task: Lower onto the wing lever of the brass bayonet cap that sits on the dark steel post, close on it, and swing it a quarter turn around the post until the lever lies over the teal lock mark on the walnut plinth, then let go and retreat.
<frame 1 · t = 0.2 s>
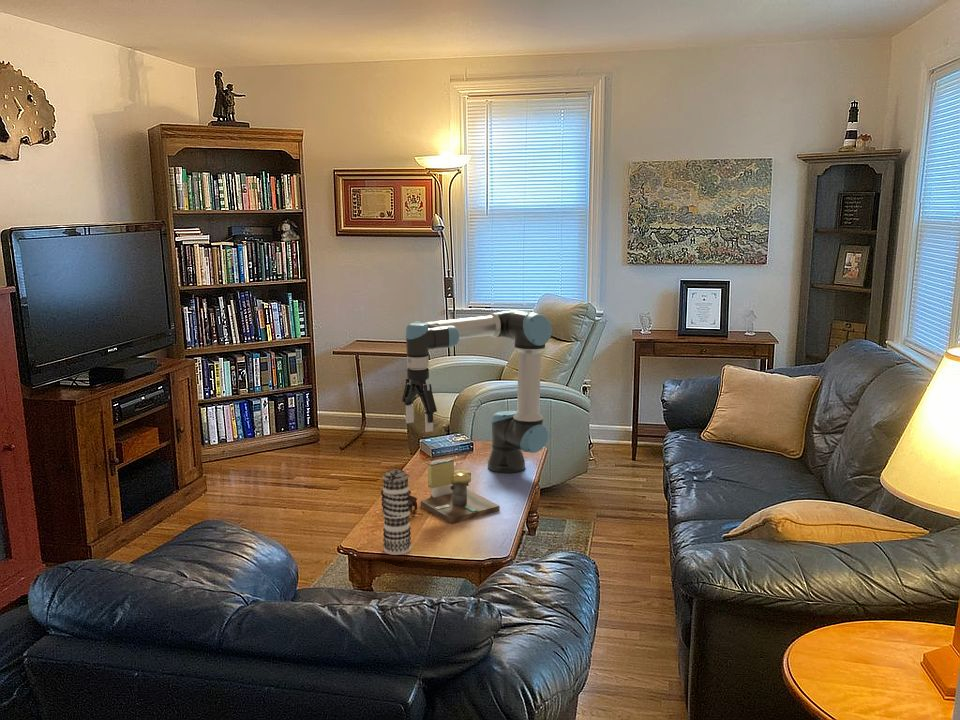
hand: (419, 426, 279), 28 cm above the table, fingers open, 13 cm apart
post plinth: (459, 508, 278), on the table
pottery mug: (404, 514, 273), on the table
candle holder: (442, 495, 291), on the table
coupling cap: (449, 471, 273), point 15 cm above the table, hinge at 0.0°
decorative candle: (397, 549, 245), on the table
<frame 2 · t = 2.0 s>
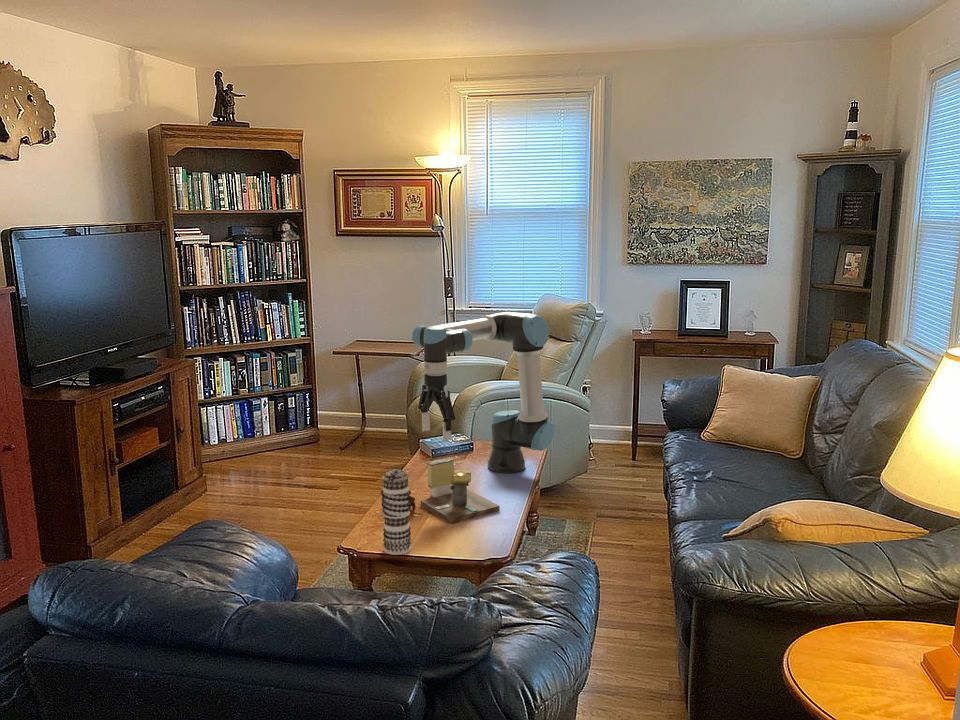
hand: (436, 435, 267), 28 cm above the table, fingers open, 13 cm apart
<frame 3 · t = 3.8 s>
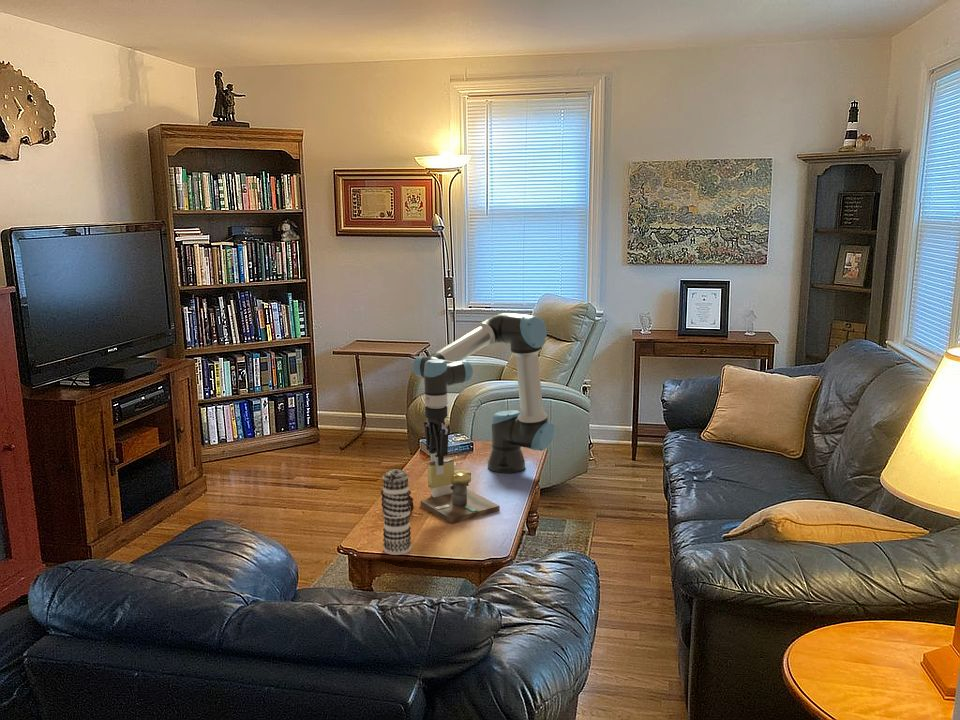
hand: (437, 472, 270), 15 cm above the table, fingers closed on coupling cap, 2 cm apart
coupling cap: (449, 471, 273), point 15 cm above the table, hinge at 0.0°, touching gripper
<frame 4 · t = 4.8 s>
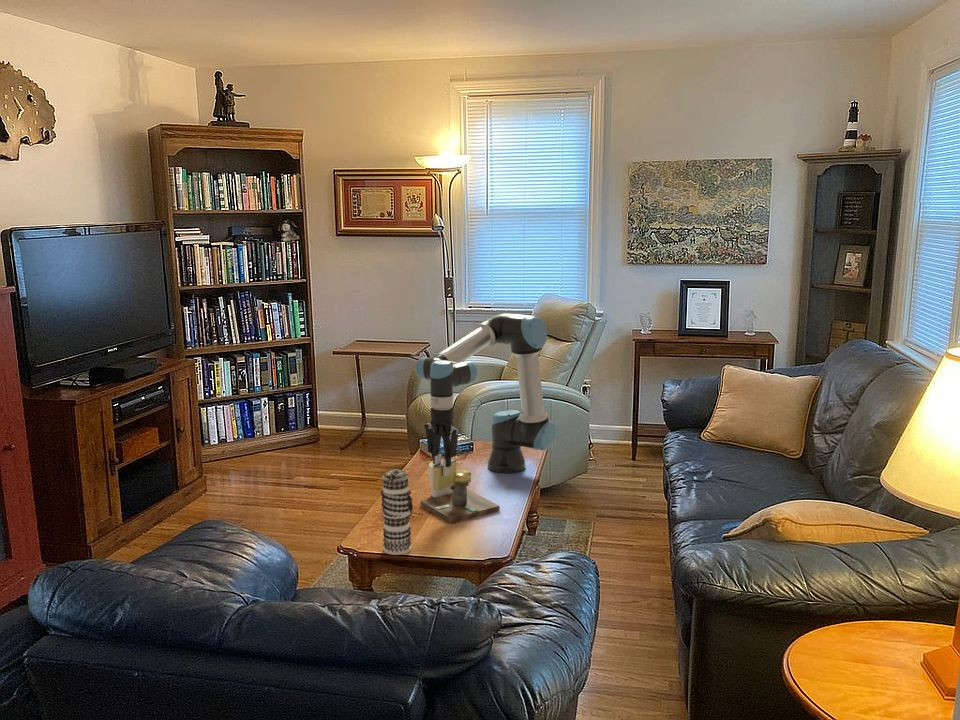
hand: (442, 474, 268), 15 cm above the table, fingers closed on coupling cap, 3 cm apart
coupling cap: (451, 472, 272), point 15 cm above the table, hinge at 16.0°, touching gripper
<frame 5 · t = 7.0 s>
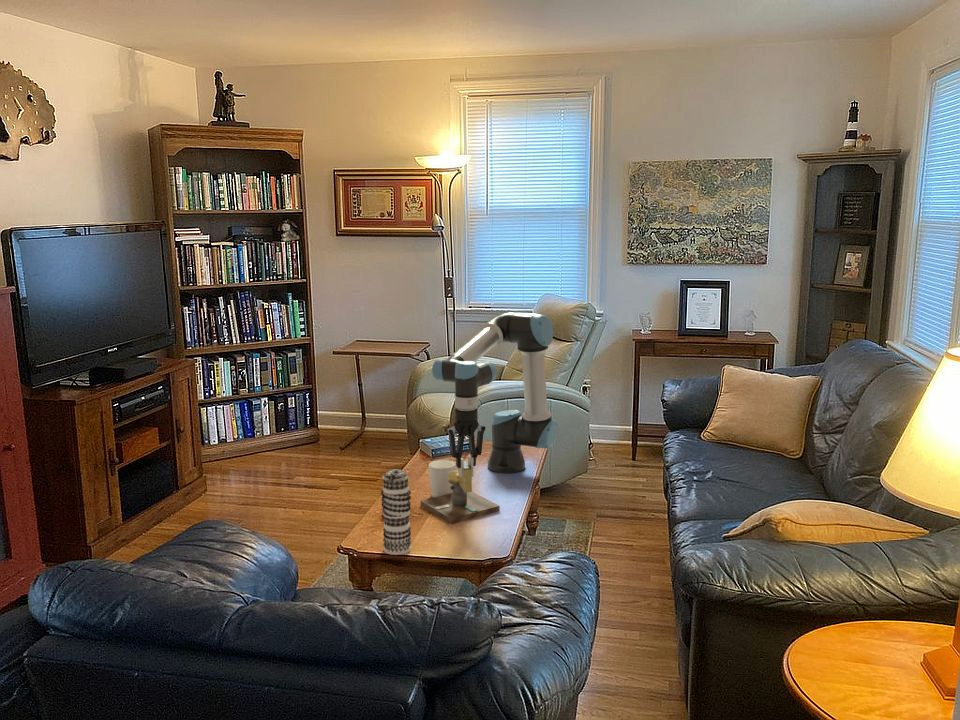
hand: (465, 475, 266), 15 cm above the table, fingers closed on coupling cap, 3 cm apart
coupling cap: (462, 472, 271), point 14 cm above the table, hinge at 71.4°, touching gripper
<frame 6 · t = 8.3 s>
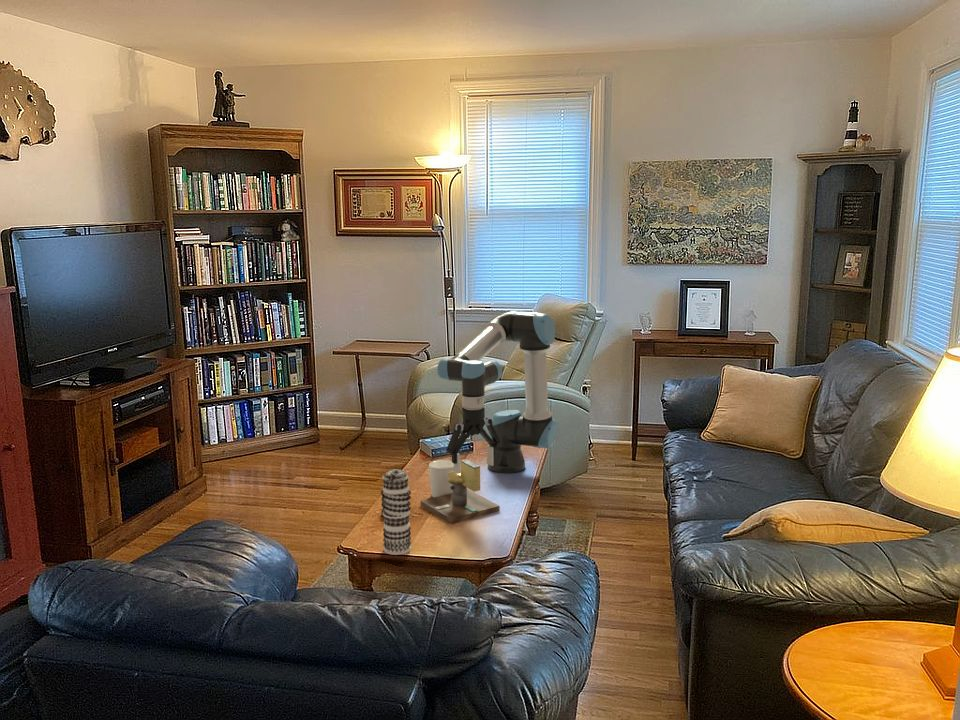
hand: (473, 468, 267), 17 cm above the table, fingers open, 13 cm apart
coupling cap: (465, 472, 271), point 15 cm above the table, hinge at 86.6°
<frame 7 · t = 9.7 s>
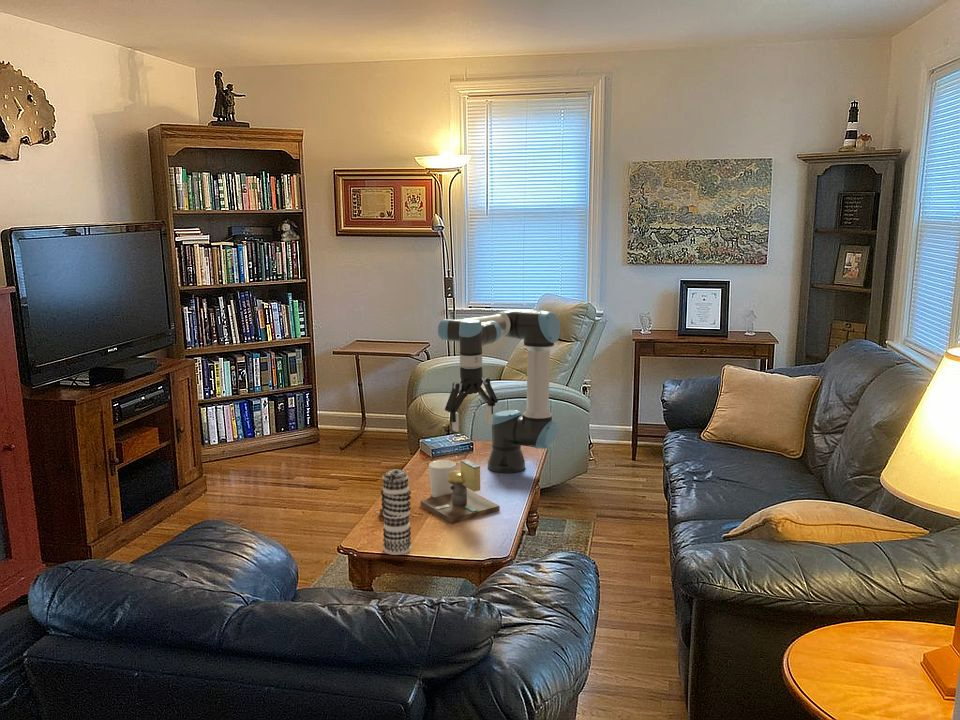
hand: (472, 427, 269), 30 cm above the table, fingers open, 13 cm apart
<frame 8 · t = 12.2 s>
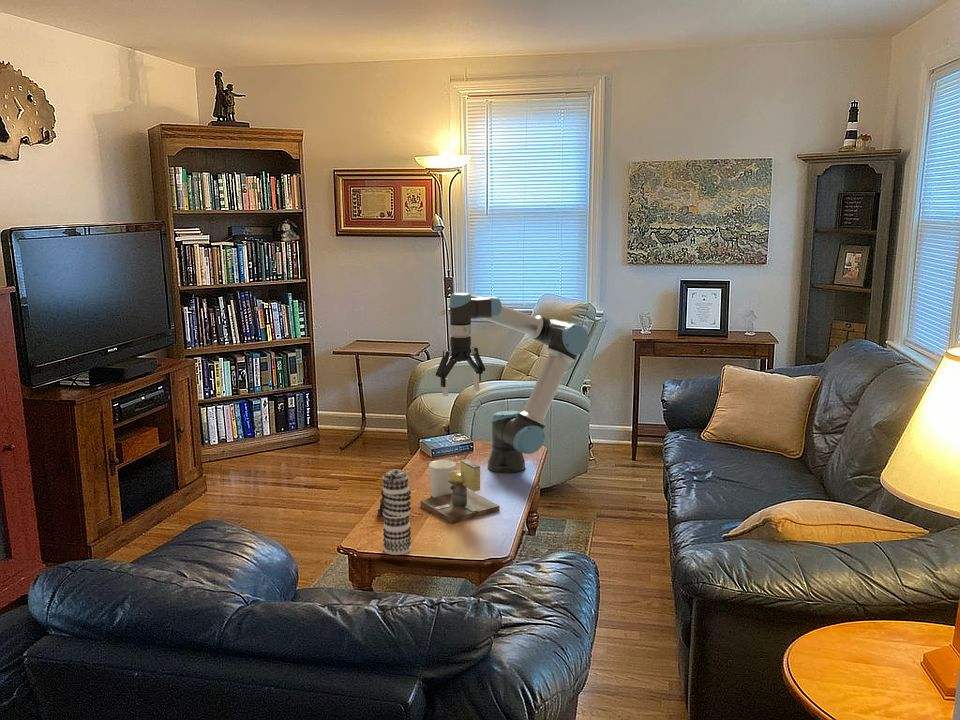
hand: (461, 393, 291), 37 cm above the table, fingers open, 13 cm apart
at the end: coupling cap at +87° (first picture: +0°); the gripper is holding nothing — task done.
